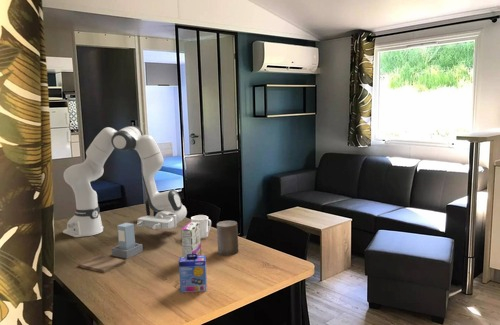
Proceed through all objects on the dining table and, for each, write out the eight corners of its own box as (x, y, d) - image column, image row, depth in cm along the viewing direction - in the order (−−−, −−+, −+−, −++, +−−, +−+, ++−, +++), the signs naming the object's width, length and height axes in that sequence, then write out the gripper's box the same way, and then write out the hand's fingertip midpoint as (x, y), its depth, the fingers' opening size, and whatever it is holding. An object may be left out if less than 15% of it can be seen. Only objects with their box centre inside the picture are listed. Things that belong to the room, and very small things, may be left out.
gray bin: (112, 255, 190) (111, 248, 189) (128, 248, 199) (127, 241, 198) (127, 258, 185) (126, 251, 185) (142, 251, 194) (142, 244, 194)
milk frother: (164, 215, 258) (163, 192, 256) (178, 219, 246) (176, 195, 244) (143, 219, 249) (142, 196, 246) (157, 225, 237) (155, 200, 235)
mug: (188, 238, 212) (187, 219, 210) (197, 233, 220) (196, 214, 218) (207, 240, 208) (206, 220, 206) (215, 235, 216) (214, 216, 214)
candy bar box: (191, 256, 186) (189, 221, 184) (201, 257, 185) (200, 222, 183) (182, 266, 175) (180, 229, 173) (193, 266, 174) (191, 229, 172)
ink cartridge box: (179, 293, 150) (177, 255, 148) (181, 286, 155) (179, 250, 153) (206, 291, 150) (205, 254, 148) (207, 285, 156) (205, 248, 154)
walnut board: (78, 266, 178) (78, 263, 177) (100, 257, 188) (100, 254, 188) (104, 273, 170) (104, 270, 170) (125, 262, 180) (125, 260, 180)
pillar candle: (242, 251, 191) (241, 220, 189) (227, 257, 184) (226, 224, 182) (228, 246, 198) (227, 216, 196) (213, 252, 191) (212, 221, 189)
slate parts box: (119, 254, 191) (116, 225, 189) (128, 250, 196) (126, 222, 194) (126, 256, 188) (124, 227, 186) (135, 252, 193) (133, 223, 191)
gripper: (148, 211, 218) (128, 218, 206) (178, 215, 208) (160, 222, 196) (148, 223, 218) (129, 230, 206) (179, 227, 209) (161, 235, 197)
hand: (144, 226), depth 201 cm, fingers open, 8 cm apart
